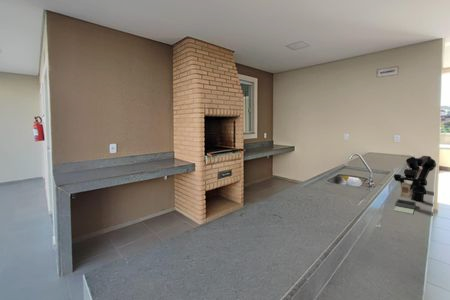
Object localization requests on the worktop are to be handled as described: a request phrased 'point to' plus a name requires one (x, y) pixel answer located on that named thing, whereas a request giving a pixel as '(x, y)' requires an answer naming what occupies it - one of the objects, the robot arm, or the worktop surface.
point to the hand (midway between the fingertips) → (405, 188)
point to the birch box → (406, 190)
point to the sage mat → (404, 210)
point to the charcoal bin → (405, 204)
